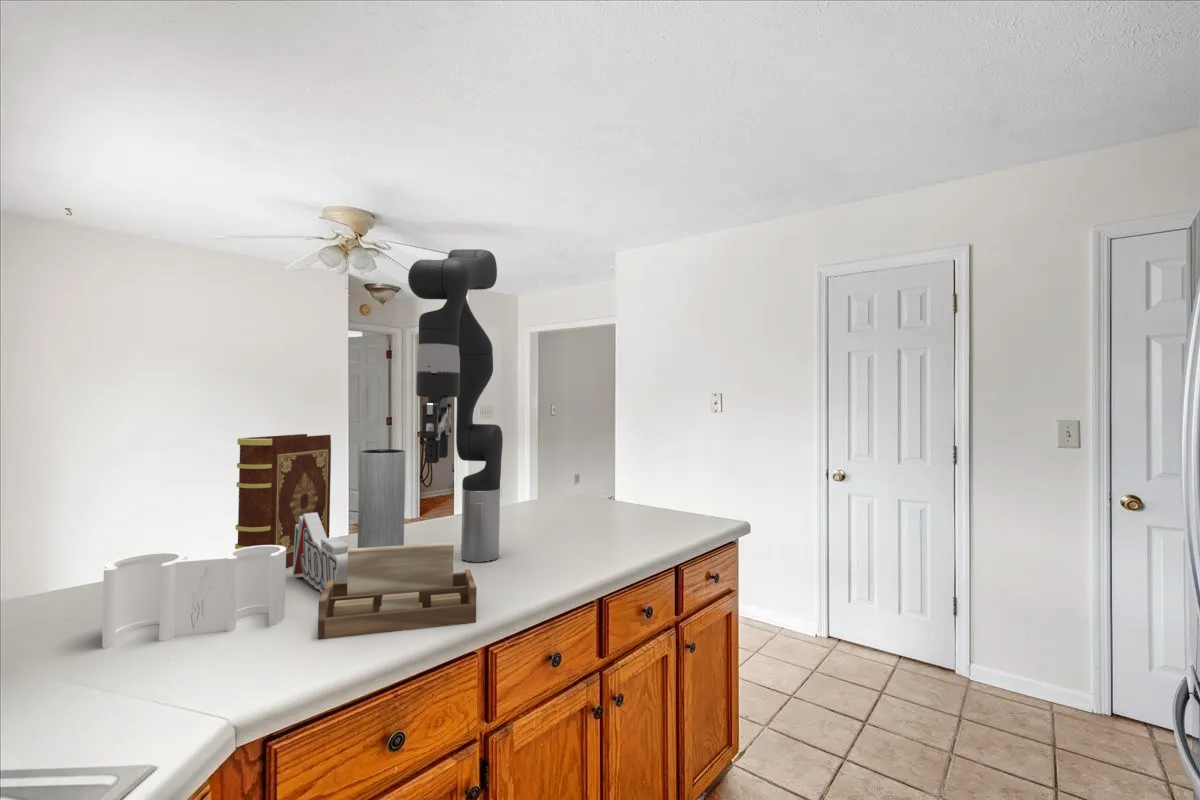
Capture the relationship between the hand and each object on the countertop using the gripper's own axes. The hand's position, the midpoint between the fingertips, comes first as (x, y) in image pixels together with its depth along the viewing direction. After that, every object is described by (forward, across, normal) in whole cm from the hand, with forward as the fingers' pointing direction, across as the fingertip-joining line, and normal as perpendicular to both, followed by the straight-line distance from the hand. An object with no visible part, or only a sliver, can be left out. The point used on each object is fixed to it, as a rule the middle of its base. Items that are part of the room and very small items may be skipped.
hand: (437, 460), depth 101 cm
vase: (+28, -31, -18) cm, 46 cm away
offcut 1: (+28, +5, -12) cm, 31 cm away
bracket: (+28, +3, -38) cm, 47 cm away
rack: (+28, +1, -6) cm, 29 cm away
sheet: (+28, -2, -6) cm, 29 cm away
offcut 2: (+28, +2, +2) cm, 28 cm away
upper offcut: (+25, +4, -5) cm, 26 cm away
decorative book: (+28, -35, -42) cm, 62 cm away
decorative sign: (+28, -16, -26) cm, 42 cm away
